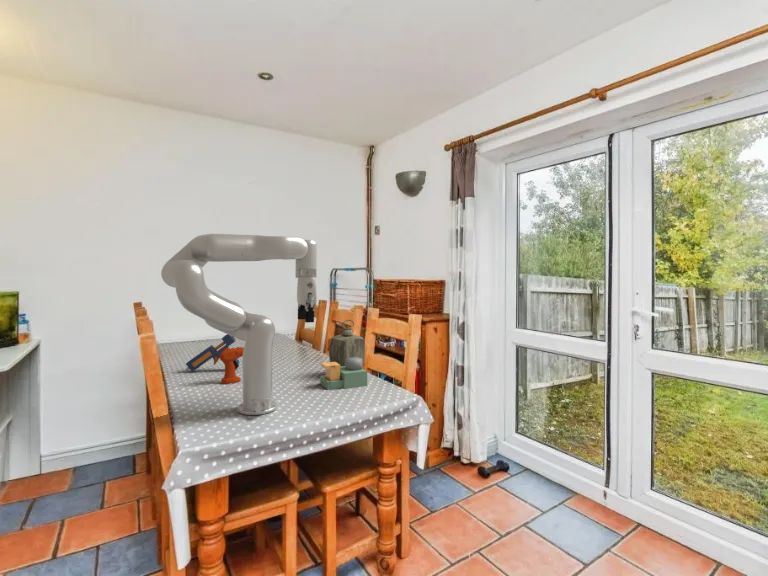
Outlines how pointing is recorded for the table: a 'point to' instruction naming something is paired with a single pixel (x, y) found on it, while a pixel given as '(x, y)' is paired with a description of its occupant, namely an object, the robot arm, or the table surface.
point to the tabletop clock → (346, 346)
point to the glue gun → (210, 354)
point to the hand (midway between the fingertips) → (305, 320)
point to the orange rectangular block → (332, 370)
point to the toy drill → (231, 364)
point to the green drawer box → (348, 375)
